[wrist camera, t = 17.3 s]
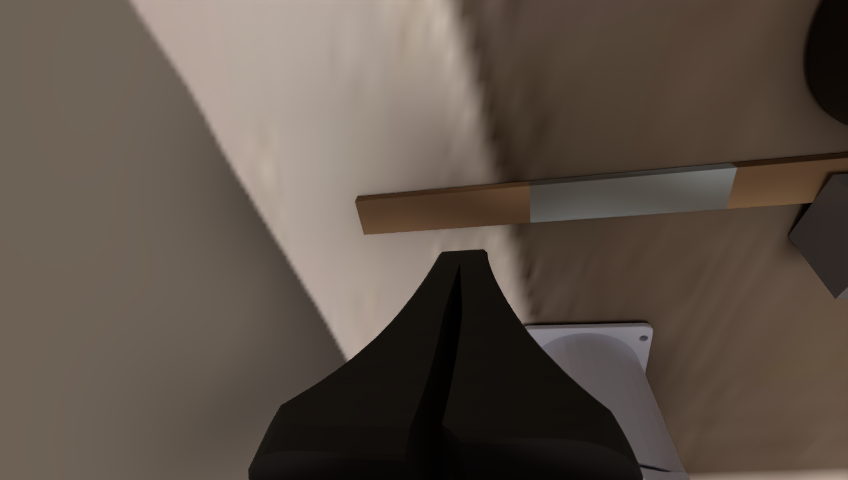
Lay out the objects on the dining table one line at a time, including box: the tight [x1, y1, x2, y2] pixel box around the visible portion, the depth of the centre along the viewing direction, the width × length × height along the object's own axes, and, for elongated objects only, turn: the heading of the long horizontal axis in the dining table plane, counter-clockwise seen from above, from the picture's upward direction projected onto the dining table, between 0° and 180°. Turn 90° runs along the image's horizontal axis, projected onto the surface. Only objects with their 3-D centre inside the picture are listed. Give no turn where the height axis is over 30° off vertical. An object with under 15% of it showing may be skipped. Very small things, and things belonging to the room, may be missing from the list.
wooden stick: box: [355, 152, 848, 235], centre depth 21 cm, size 2×28×1 cm, turn 99°
